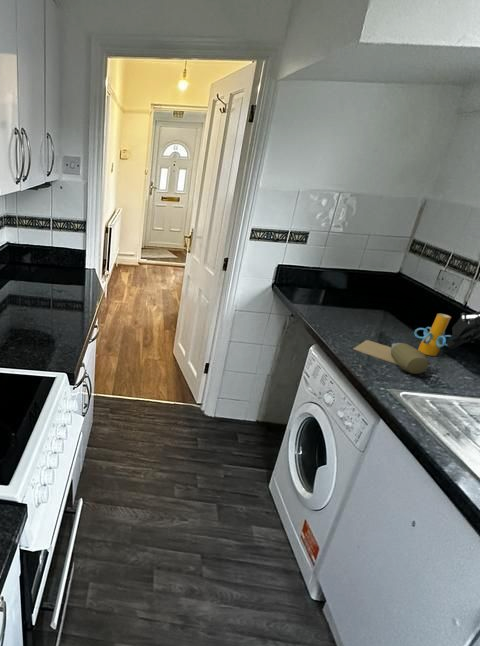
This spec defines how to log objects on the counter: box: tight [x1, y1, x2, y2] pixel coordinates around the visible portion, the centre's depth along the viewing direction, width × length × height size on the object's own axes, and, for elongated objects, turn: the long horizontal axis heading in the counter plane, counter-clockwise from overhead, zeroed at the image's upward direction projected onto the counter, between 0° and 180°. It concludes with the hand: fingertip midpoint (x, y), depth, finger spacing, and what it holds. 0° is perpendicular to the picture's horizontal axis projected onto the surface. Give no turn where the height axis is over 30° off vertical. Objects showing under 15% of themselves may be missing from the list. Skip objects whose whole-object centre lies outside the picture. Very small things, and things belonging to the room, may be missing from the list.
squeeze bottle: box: [390, 342, 429, 375], centre depth 142 cm, size 8×8×18 cm
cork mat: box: [352, 339, 399, 366], centre depth 151 cm, size 18×14×1 cm
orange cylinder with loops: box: [413, 313, 452, 357], centre depth 151 cm, size 12×10×15 cm
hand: (450, 343), depth 120 cm, fingers closed
